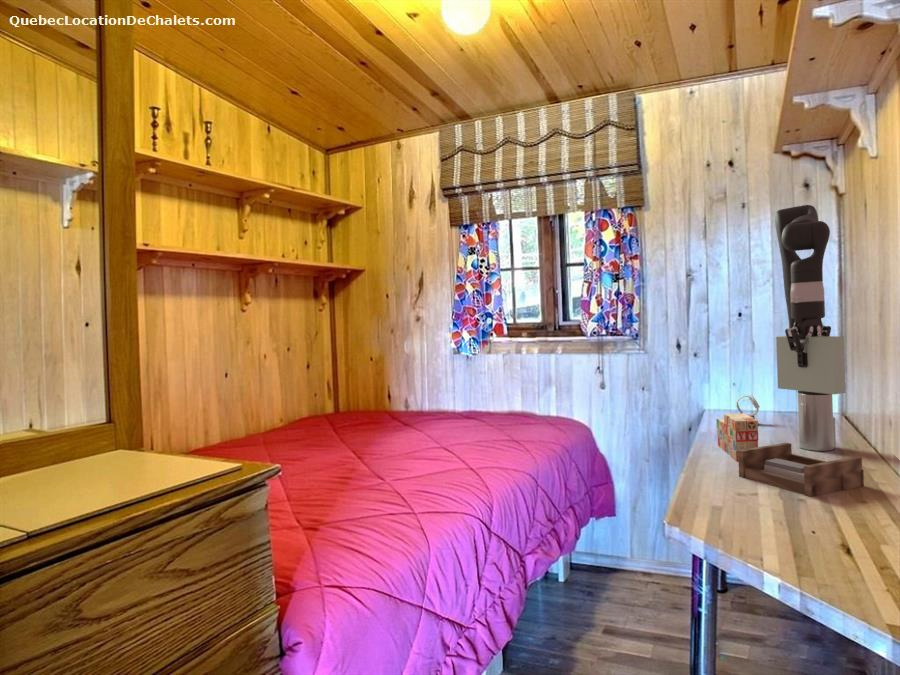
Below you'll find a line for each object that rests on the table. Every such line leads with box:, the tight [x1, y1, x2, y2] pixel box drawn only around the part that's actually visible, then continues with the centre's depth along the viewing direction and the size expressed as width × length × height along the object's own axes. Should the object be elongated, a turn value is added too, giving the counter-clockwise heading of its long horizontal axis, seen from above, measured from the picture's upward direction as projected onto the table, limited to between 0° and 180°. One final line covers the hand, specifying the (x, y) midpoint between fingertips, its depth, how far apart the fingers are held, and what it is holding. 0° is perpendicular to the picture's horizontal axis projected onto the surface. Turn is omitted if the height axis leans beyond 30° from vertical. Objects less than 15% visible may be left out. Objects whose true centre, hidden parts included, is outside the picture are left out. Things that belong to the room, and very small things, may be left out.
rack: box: [738, 442, 865, 497], centre depth 153 cm, size 18×21×7 cm
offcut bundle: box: [762, 458, 806, 482], centre depth 152 cm, size 5×15×5 cm, turn 20°
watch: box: [735, 394, 760, 420], centre depth 229 cm, size 6×8×11 cm
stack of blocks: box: [716, 412, 759, 462], centre depth 185 cm, size 21×6×12 cm, turn 170°
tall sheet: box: [775, 335, 847, 395], centre depth 154 cm, size 4×16×14 cm, turn 20°
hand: (809, 366), depth 154 cm, fingers closed on tall sheet, 4 cm apart
